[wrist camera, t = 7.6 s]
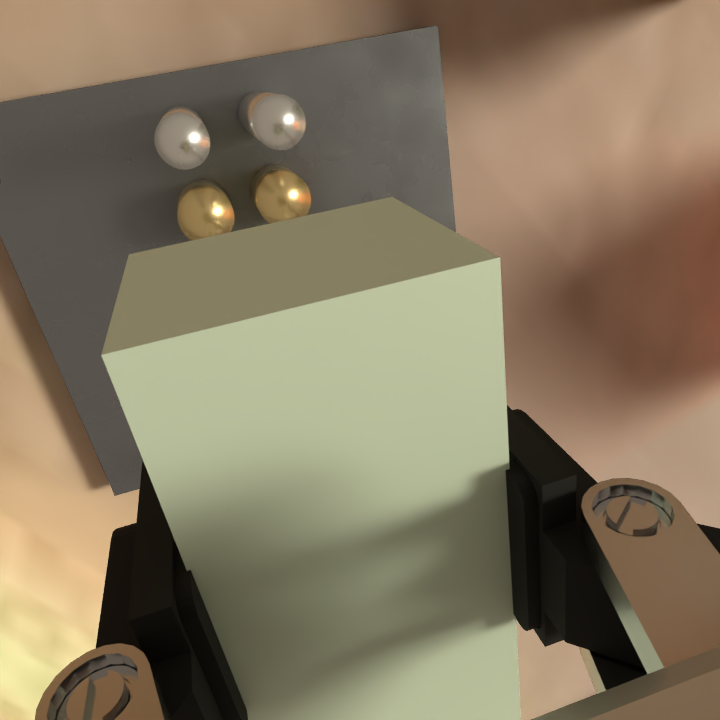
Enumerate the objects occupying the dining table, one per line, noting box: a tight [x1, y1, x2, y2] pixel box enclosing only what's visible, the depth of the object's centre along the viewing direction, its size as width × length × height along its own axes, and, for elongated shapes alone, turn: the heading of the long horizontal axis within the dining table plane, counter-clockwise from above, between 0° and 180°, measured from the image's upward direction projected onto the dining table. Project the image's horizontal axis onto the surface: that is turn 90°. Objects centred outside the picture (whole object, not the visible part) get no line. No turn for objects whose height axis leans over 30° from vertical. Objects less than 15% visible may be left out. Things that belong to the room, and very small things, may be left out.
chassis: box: [0, 25, 456, 496], centre depth 21 cm, size 16×15×6 cm
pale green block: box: [101, 197, 521, 720], centre depth 10 cm, size 4×9×4 cm, turn 9°
